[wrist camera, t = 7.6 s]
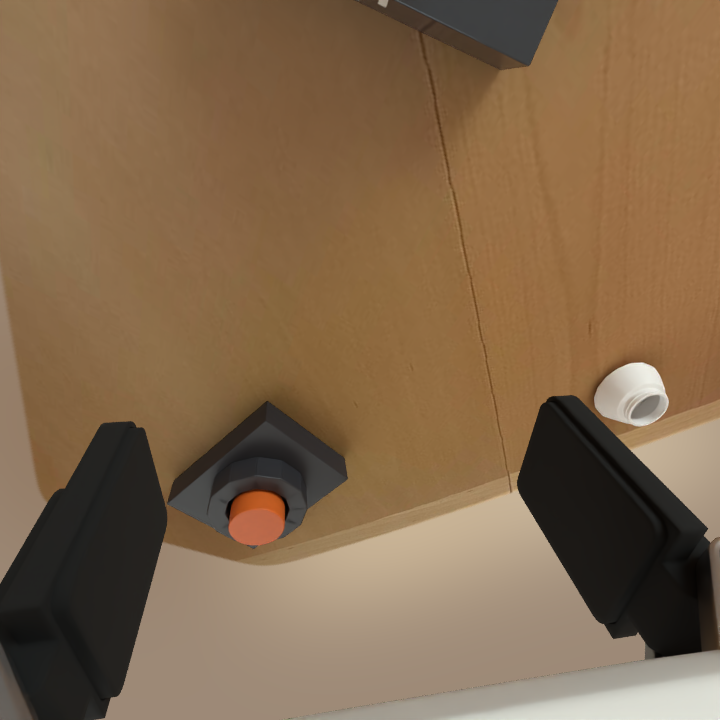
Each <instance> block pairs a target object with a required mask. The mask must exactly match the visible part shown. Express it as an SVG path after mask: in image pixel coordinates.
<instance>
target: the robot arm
mask: <svg viewBox="0 0 720 720" xmlns="http://www.w3.org/2000/svg"><path fill="white" fill-rule="evenodd" d="M517 487H518V491H519V493H520V495H521V497H522V499H523V500H524V502H525V504H526V505H527V507H528V508H529V510H530V512H531V514H532V515H533V517H534V518H535V520H536V522H537V523H538V525H539V527H540V528H541V530H542V531H543V533H544V535H545V537H546V538H547V540H548V542H549V543H550V545H551V547H552V548H553V550H554V552H555V553H556V555H557V556H558V558H559V560H560V562H561V563H562V565H563V566H564V568H565V570H566V571H567V573H568V575H569V576H570V578H571V580H572V581H573V583H574V584H575V586H576V588H577V589H578V591H579V593H580V595H581V596H582V598H583V599H584V601H585V603H586V605H587V606H588V608H589V609H590V611H591V613H592V614H593V616H594V617H595V618H596V620H597V621H598V622H600V623H602V624H604V625H605V626H606V628H607V630H608V631H609V633H610V635H611V636H612V638H613V639H616V638H622V637H628V636H635V635H636V634H637V633H638V632H639V634H640V635H641V637H642V638H643V640H644V641H645V660H641V661H634V662H629V663H622V664H616V665H609V666H603V667H597V668H591V669H585V670H578V671H572V672H566V673H559V674H553V675H547V676H541V677H534V678H529V679H522V680H516V681H510V682H504V683H498V684H492V685H486V686H480V687H473V688H468V689H461V690H455V691H450V692H443V693H437V694H431V695H425V696H419V697H413V698H407V699H401V700H395V701H389V702H383V703H377V704H372V705H366V706H359V707H354V708H348V709H342V710H336V711H330V712H324V713H319V714H313V715H307V716H301V717H296V718H289V719H284V720H720V537H718V538H715V539H714V540H713V541H712V542H711V543H710V542H709V541H708V540H707V539H706V538H705V537H704V534H705V532H706V531H707V530H708V528H707V527H706V526H705V525H704V524H703V523H702V522H701V521H700V520H699V519H698V518H697V517H696V516H695V515H694V514H693V513H692V512H691V511H690V510H689V509H688V508H687V507H686V506H685V505H684V504H683V503H682V502H681V501H680V500H679V499H678V498H677V497H676V496H675V495H674V494H673V493H672V492H671V491H670V490H669V489H668V488H667V487H666V486H665V485H664V484H663V483H662V482H661V481H660V480H659V479H658V478H657V477H656V476H655V475H654V474H653V473H652V472H651V471H650V470H649V469H648V468H647V467H646V466H645V465H644V464H643V463H642V462H641V461H640V460H639V459H638V458H637V457H636V456H635V455H634V454H633V453H632V452H631V451H630V450H629V449H628V448H627V447H626V446H625V445H624V444H623V443H622V442H621V441H620V440H619V439H618V438H617V437H616V436H615V435H614V434H613V433H612V432H611V431H610V430H609V428H608V427H607V426H606V425H605V424H604V423H603V422H602V421H601V420H600V419H599V418H598V417H597V416H596V415H595V414H594V413H593V412H592V411H591V410H590V409H589V408H588V407H587V406H586V405H585V404H584V403H583V402H582V401H581V400H580V399H579V398H577V397H576V396H573V395H569V396H552V397H549V398H548V399H547V401H546V403H543V404H542V405H541V407H540V409H539V413H538V416H537V419H536V422H535V425H534V429H533V432H532V435H531V438H530V441H529V444H528V448H527V451H526V454H525V457H524V460H523V463H522V467H521V470H520V473H519V476H518V480H517ZM166 526H167V510H166V507H165V503H164V499H163V496H162V492H161V488H160V484H159V481H158V477H157V473H156V470H155V466H154V462H153V458H152V455H151V451H150V447H149V444H148V440H147V436H146V433H145V430H144V428H142V427H141V428H136V425H135V424H134V422H131V421H129V422H112V423H103V424H101V426H100V427H99V429H98V430H97V432H96V434H95V436H94V438H93V439H92V441H91V443H90V445H89V447H88V448H87V450H86V452H85V454H84V455H83V457H82V459H81V461H80V463H79V464H78V466H77V468H76V470H75V471H74V473H73V475H72V477H71V479H70V480H69V482H68V484H67V486H66V488H65V489H59V490H58V491H56V492H55V493H54V494H53V496H52V497H51V498H50V500H49V501H48V503H47V505H46V507H45V508H44V510H43V512H42V513H41V515H40V517H39V519H38V520H37V522H36V524H35V525H34V527H33V529H32V530H31V532H30V534H29V536H28V537H27V539H26V541H25V543H24V544H23V546H22V548H21V549H20V551H19V553H18V555H17V556H16V558H15V560H14V561H13V563H12V565H11V567H10V568H9V570H8V572H7V573H6V575H5V577H4V578H3V580H2V582H1V584H0V720H96V719H102V718H105V716H106V712H107V708H108V705H109V701H110V698H111V697H116V696H118V695H119V694H120V692H121V690H122V687H123V685H124V681H125V678H126V674H127V670H128V667H129V663H130V659H131V656H132V652H133V648H134V645H135V641H136V637H137V634H138V630H139V626H140V622H141V618H142V615H143V611H144V608H145V604H146V600H147V597H148V593H149V589H150V586H151V582H152V578H153V574H154V571H155V567H156V563H157V560H158V556H159V552H160V549H161V545H162V542H163V538H164V534H165V531H166Z"/></svg>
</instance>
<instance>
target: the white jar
mask: <svg viewBox="0 0 720 720" xmlns="http://www.w3.org/2000/svg"><path fill="white" fill-rule="evenodd" d="M594 402H595V408H596V409H597V410H598V411H599V412H600V414H601V415H602V416H604V417H607V418H610V419H613V420H617V421H620V422H624V423H627V424H632V425H634V426H645V425H649V424H651V423H653V422H655V421H656V420H658V419H659V418H660V417H661V416H662V415H663V414H664V413H665V411H666V409H667V407H668V403H669V401H668V397H667V395H666V394H665V388H664V385H663V383H662V380H661V377H660V375H659V373H658V372H657V371H656V369H655V368H654V367H652V366H650V365H648V364H645V363H643V362H642V363H630V364H627V365H625V366H622V367H620V368H617V369H616V370H615V371H613V372H612V373H611V374H609V375H608V376H607V377H606V378H605V379H604V380H603V381H602V383H601V384H600V385H599V387H598V388H597V391H596V394H595V397H594Z"/></svg>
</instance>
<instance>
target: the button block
mask: <svg viewBox="0 0 720 720" xmlns="http://www.w3.org/2000/svg"><path fill="white" fill-rule="evenodd" d="M347 479H348V477H347V471H346V465H345V459H344V458H343V457H342V456H341V455H339V454H338V453H337V452H335V451H334V450H333V449H331V448H330V447H329V446H327V445H326V444H325V443H323V442H322V441H321V440H319V439H318V438H317V437H315V436H314V435H312V434H311V433H310V432H308V431H307V430H306V429H304V428H303V427H302V426H300V425H299V424H298V423H296V422H295V421H294V420H292V419H291V418H290V417H288V416H287V415H286V414H284V413H283V412H282V411H280V410H279V409H277V408H276V407H275V406H273V405H272V404H271V403H269V402H268V401H267V402H266V403H264V404H263V405H262V406H261V407H260V408H258V409H257V410H256V411H255V412H254V413H253V414H251V415H250V416H249V417H248V418H247V419H246V420H244V421H243V422H242V423H241V424H240V425H239V426H237V427H236V428H235V429H234V430H233V431H232V432H230V433H229V434H228V435H227V436H226V437H225V438H223V439H222V440H221V441H220V442H219V443H218V444H216V445H215V446H214V447H213V448H212V449H210V450H209V451H208V452H207V453H206V454H205V455H203V456H202V457H201V458H200V459H199V460H198V461H196V462H195V463H194V464H193V465H192V466H191V467H189V468H188V469H187V470H186V471H185V472H184V473H182V474H181V475H180V476H179V477H178V478H177V479H175V480H174V482H173V485H172V489H171V492H170V495H169V499H168V502H167V504H168V505H170V506H172V507H174V508H176V509H178V510H180V511H182V512H183V513H185V514H187V515H189V516H191V517H193V518H195V519H197V520H199V521H201V522H203V523H205V524H207V525H209V526H210V527H212V528H214V529H215V530H216V531H217V532H219V533H221V534H223V535H225V536H227V537H229V538H231V539H233V540H234V541H236V540H235V539H234V538H233V537H232V536H231V535H230V533H229V529H228V526H229V518H230V511H231V505H232V502H233V501H234V499H235V498H236V497H237V496H238V495H239V494H241V493H243V492H246V491H250V490H254V489H261V490H269V491H273V492H275V493H277V494H278V495H280V496H281V498H282V499H283V501H284V504H285V528H284V531H283V533H282V534H281V535H280V536H279V537H278V538H277V539H280V538H283V537H285V536H286V535H288V534H289V533H290V532H292V531H293V530H294V529H296V528H297V527H298V526H300V525H301V523H302V521H303V518H304V516H305V513H306V511H307V509H308V508H310V507H311V506H312V505H314V504H315V503H316V502H318V501H319V500H320V499H322V498H323V497H324V496H326V495H327V494H328V493H330V492H331V491H332V490H334V489H335V488H336V487H338V486H339V485H340V484H342V483H343V482H345V481H346V480H347ZM245 545H246V544H245ZM247 546H249V547H251V548H253V549H254V548H256V547H257V546H258V545H247Z"/></svg>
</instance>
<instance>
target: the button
mask: <svg viewBox="0 0 720 720" xmlns="http://www.w3.org/2000/svg"><path fill="white" fill-rule="evenodd" d="M284 528H285V504H284V501H283V499H282V498H281V496H280V495H278V494H277V493H275V492H273V491H269V490H261V489H254V490H250V491H246V492H243V493H241V494H239V495H238V496H237V497H236V498H235V499H234V501H233V502H232V505H231V511H230V518H229V526H228V529H229V533H230V535H231V536H232V537H233V538H234V539H235V540H236V541H238V542H240V543H243V544H246V545H263V544H267V543H270V542H272V541H274V540H276V539H277V538H278V537H279V536H280V535H281V534H282V533H283V531H284Z"/></svg>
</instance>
